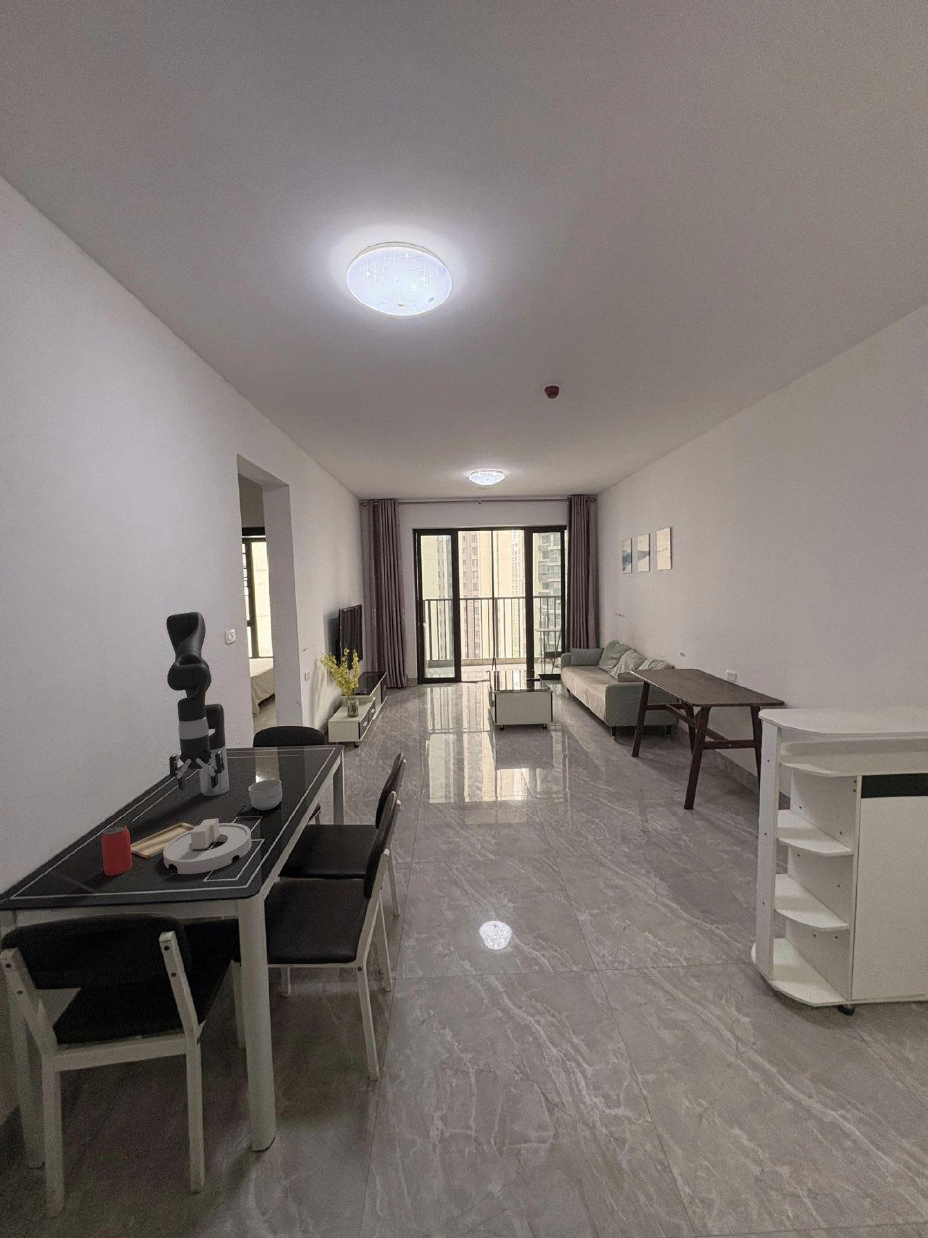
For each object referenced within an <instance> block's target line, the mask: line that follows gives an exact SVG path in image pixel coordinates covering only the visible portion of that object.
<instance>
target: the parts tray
mask: <svg viewBox="0 0 928 1238" xmlns="http://www.w3.org/2000/svg"><path fill="white" fill-rule="evenodd" d="M196 826H197V825H192V824H189V823H186V822H182V821H181V822H178V823H176V824H174V825H171V826H170V827H167V828H166V829H163V830H160V831H158V832H155V833H153V834H152V835H149V836H147V837H145V838H142V839H140V840H137V841H135V842H133V843H130V844H131V854H135V855H137V856H140V857H142V858H145V859H150V858H153V857H155V856H158V855H159V854H161V853H163V851H164V848H165V846H166V845H167V844H168V843H169V842H170V841H172V840H173V839H174V838H176V837H178V836H180V835H181V834H183V833H186V832H188V831H191V830H193V829H194V828H195V827H196Z"/></svg>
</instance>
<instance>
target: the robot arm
mask: <svg viewBox="0 0 928 1238" xmlns="http://www.w3.org/2000/svg"><path fill="white" fill-rule="evenodd" d="M165 625H166V631H167V635H168V637H169V640H170V642H171V645H172V648H173V651H174V655H175V660H174V662H173V663H172V664H171V666H170V668H169V670H168V672H167V677H166V682H167V684H168V687H169V688H170V689H172V690H173V691H177V692H179V691H180V692H181V691H185V694H186V696H185V697H183V698H180V699H179V700H178V702H177V717H178V737H179V747H180V748H179V749H180V754H177V753H173V754H172V755H171V756H170V757H169V758H168V761H169V764H168V765H169V776H170V777H175V778H177V786H178V789H180V791H183V792H184V791H185V790H186V789H187V781H186V775H185V774H186V772H187V771H189V770H190V771H191V770H198V771H199V783H200V793H202V796H206V797H212V796H213V797H214V796H219V795H222V794H225V793H227V792H228V791H229V790H230V783H229V781H230V780H229V770H228V769H229V768H228V756H227V755H228V754H227V746H226V734H225V731H226V730H225V711H224V710H225V709H224V707H223V705H222V704H221V703H211V704H206V694H207V692H208V689H209V688H210V686H211V683H212V673H211V670H210V666H209V664H208V662H207V661H206V660H205V659H204V658H203V657H202V649H203V646H204V642H205V639H206V632H207V630H206V622H205V618H204V616H203V615H202V613H201V612H199V611H198V612H197V611H190V612H184V613H177V614H176V613H175V614H172V615H168V617H167V618H166V623H165ZM210 730H214V732H213V733H212V734H210V735H209V733H210V732H209V731H210ZM180 761H181V762H182V764H183V765H182V767H181V769H180V770H179V767H178V763H179V762H180Z"/></svg>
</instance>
